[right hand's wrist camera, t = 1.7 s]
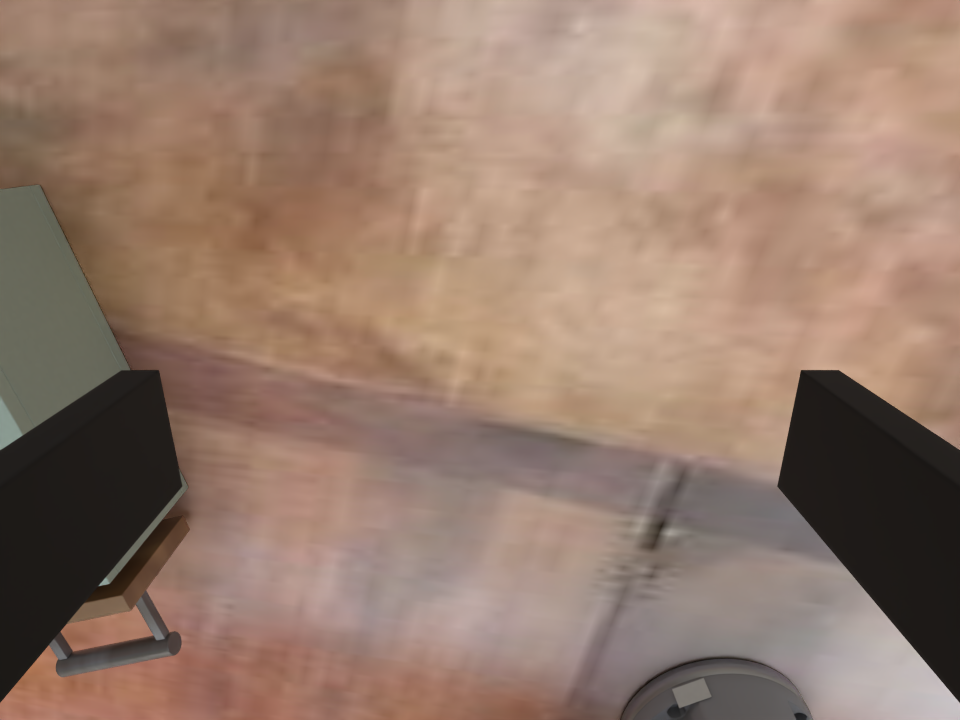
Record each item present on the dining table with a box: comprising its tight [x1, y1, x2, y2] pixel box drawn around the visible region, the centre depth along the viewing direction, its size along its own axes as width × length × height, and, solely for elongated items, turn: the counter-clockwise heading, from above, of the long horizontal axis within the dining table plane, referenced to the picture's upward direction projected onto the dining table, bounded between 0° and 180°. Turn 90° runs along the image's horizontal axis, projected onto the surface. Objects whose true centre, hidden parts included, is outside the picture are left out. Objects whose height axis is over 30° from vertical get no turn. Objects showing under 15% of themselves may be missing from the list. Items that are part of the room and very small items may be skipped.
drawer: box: [49, 516, 190, 677], centre depth 36 cm, size 25×8×8 cm, turn 14°
